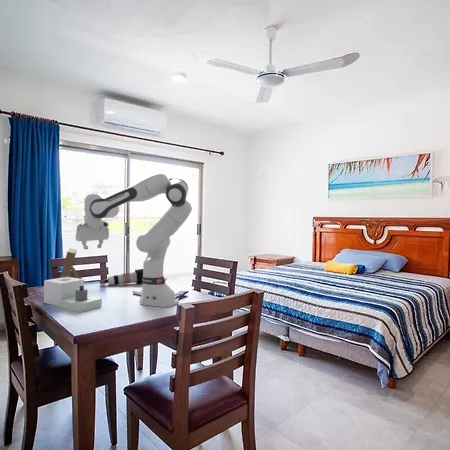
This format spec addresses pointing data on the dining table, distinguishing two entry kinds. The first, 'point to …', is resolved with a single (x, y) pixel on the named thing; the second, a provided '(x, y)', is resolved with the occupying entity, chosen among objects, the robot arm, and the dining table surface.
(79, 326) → the dining table surface
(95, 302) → the plate
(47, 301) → the block
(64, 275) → the photo frame
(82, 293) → the plug
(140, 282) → the grey banded tapered cylinder
